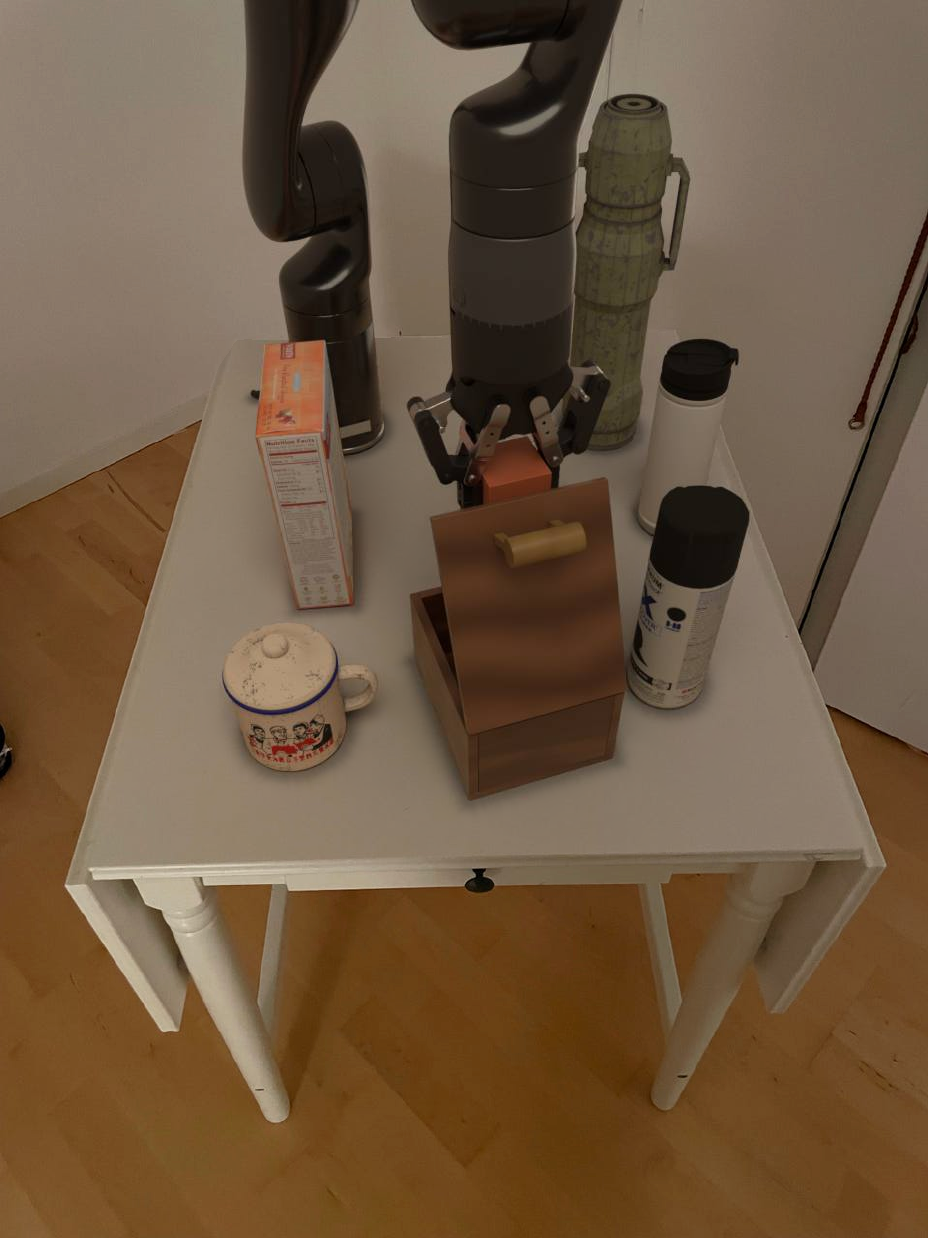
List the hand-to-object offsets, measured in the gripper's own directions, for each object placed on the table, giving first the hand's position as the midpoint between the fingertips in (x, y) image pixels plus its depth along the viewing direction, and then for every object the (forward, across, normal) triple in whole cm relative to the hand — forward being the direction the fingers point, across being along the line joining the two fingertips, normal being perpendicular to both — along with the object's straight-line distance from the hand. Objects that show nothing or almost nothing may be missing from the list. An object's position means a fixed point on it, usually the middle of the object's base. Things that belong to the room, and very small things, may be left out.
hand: (507, 507), depth 67 cm
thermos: (+20, -24, -32) cm, 45 cm away
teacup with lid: (+20, +17, 0) cm, 27 cm away
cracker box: (+20, +12, -21) cm, 31 cm away
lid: (+4, +1, +7) cm, 8 cm away
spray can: (+20, -13, +5) cm, 25 cm away
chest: (+20, +1, +3) cm, 20 cm away
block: (0, 0, 0) cm, 0 cm away
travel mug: (+20, -24, -14) cm, 34 cm away
